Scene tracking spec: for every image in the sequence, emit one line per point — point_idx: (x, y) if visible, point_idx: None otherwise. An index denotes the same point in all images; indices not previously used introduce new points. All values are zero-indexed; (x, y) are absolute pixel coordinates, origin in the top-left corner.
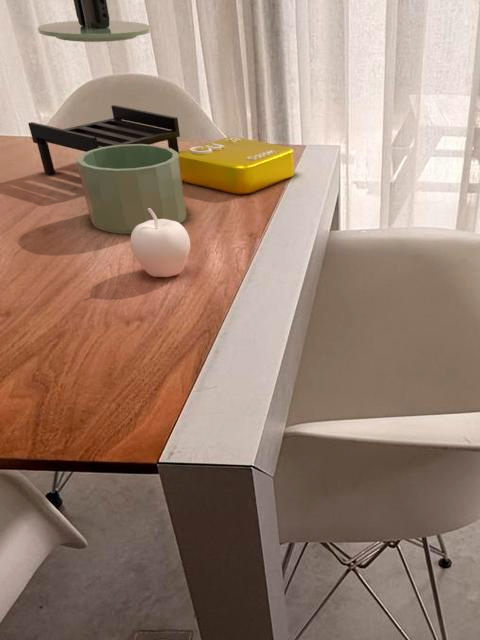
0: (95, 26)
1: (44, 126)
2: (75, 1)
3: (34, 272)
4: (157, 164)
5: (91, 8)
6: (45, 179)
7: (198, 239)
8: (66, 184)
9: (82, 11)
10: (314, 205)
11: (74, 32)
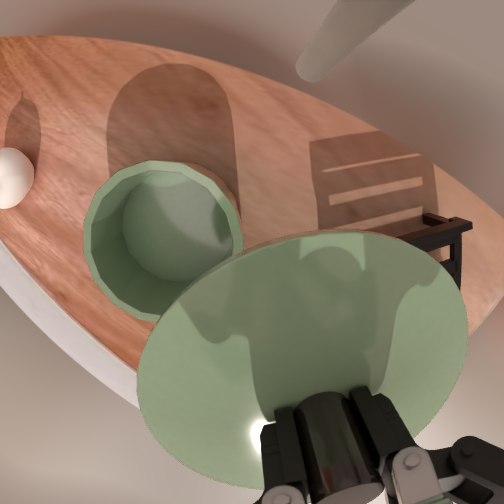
0: (283, 408)
1: (445, 231)
2: (385, 432)
3: (95, 61)
4: (92, 261)
5: (289, 446)
6: (412, 202)
7: (75, 246)
8: (378, 213)
9: (361, 422)
10: (116, 390)
11: (212, 315)
